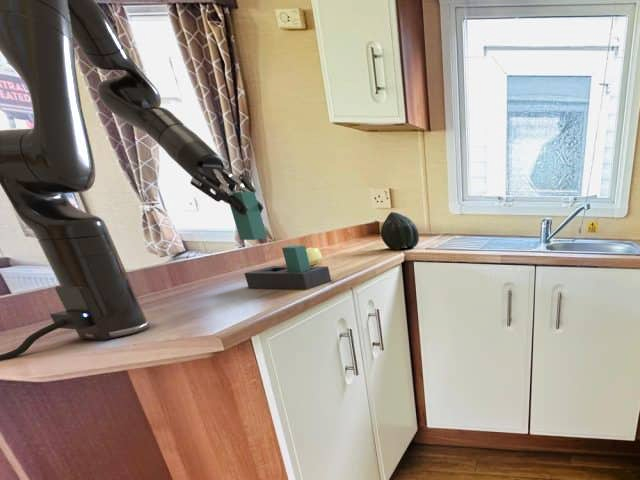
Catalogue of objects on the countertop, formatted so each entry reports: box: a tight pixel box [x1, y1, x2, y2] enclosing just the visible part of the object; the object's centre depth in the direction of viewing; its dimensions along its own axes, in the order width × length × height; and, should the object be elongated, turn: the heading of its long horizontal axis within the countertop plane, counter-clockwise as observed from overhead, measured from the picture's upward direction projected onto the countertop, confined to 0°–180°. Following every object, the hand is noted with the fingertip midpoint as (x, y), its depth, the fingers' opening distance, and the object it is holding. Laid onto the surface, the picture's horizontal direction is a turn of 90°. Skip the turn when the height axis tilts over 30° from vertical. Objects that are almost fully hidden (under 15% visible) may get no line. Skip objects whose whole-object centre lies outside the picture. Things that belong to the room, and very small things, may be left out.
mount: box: [243, 265, 332, 290], centre depth 115 cm, size 10×18×4 cm, turn 76°
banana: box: [279, 247, 323, 266], centre depth 144 cm, size 14×6×20 cm
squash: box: [380, 211, 420, 250], centre depth 174 cm, size 14×15×15 cm
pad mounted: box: [281, 245, 310, 272], centre depth 113 cm, size 4×4×10 cm
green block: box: [229, 191, 268, 241], centre depth 97 cm, size 4×4×10 cm
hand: (253, 210), depth 96 cm, fingers closed on green block, 4 cm apart
